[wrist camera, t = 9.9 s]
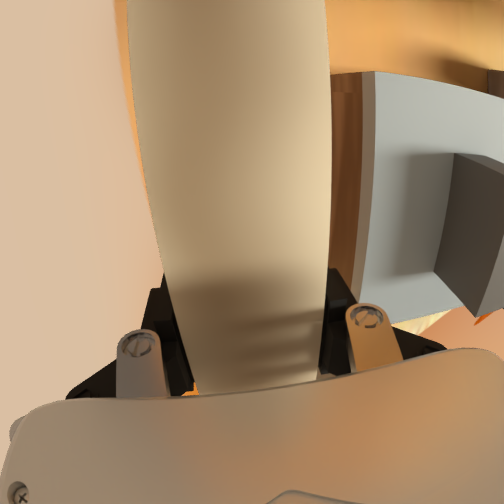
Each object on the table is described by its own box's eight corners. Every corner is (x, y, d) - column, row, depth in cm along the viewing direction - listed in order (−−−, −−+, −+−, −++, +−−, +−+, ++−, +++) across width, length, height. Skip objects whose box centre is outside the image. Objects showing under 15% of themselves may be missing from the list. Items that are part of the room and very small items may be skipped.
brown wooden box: (522, 83, 20) (592, 101, 11) (496, 260, 31) (545, 306, 22) (314, 34, 19) (379, 2, 10) (315, 292, 30) (350, 374, 21)
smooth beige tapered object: (278, -39, 7) (310, -94, 3) (288, 424, 18) (299, 475, 15) (156, -30, 7) (128, -83, 3) (228, 431, 18) (233, 484, 15)
